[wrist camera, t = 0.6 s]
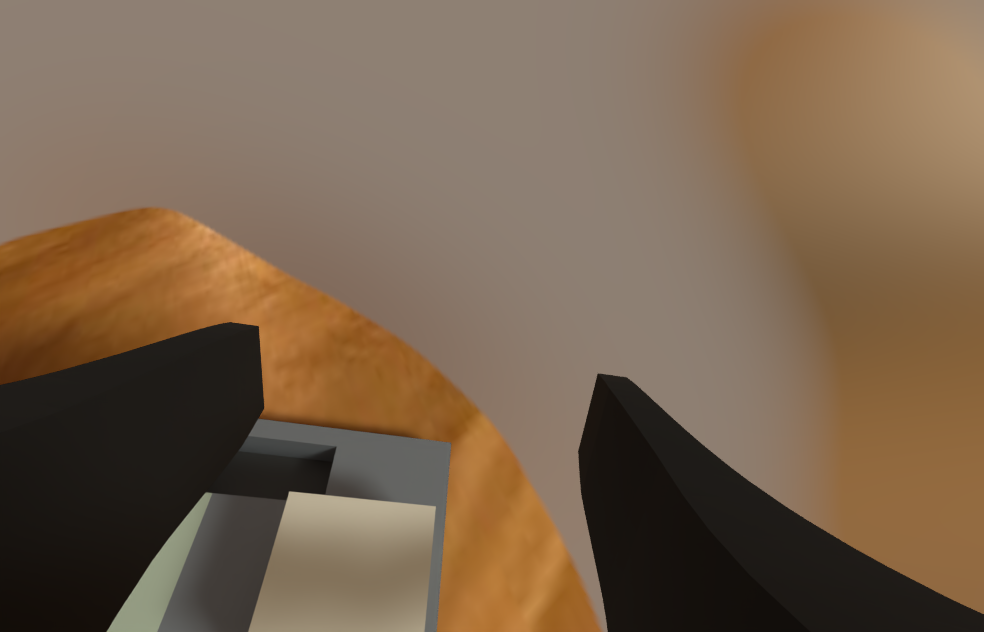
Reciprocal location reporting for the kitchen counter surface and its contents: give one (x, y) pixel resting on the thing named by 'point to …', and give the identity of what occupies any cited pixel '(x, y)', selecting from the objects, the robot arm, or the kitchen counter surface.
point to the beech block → (347, 567)
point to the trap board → (277, 521)
